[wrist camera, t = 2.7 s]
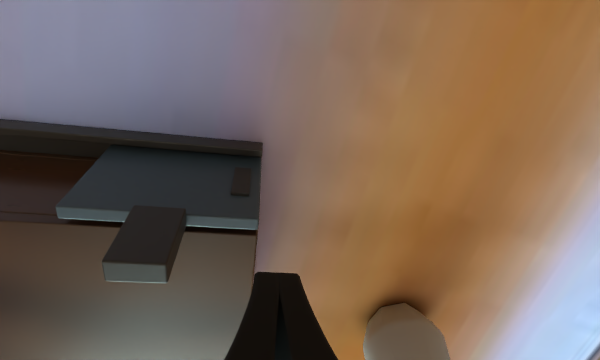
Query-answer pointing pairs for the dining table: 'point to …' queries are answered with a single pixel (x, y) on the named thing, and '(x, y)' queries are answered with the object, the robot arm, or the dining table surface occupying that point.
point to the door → (162, 203)
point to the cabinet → (91, 250)
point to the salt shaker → (403, 336)
